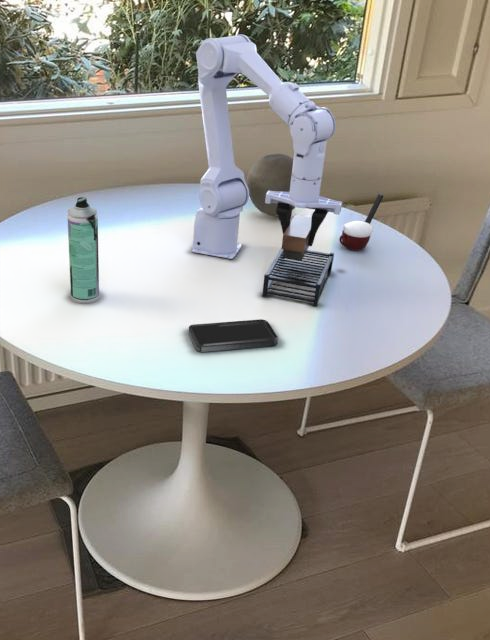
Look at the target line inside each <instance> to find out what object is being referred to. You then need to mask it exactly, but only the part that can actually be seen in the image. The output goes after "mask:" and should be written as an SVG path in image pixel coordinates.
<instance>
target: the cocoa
mask: <svg viewBox="0 0 490 640" xmlns="http://www.w3.org/2000/svg"><path fill="white" fill-rule="evenodd" d="M383 198H384V194H382V193H380V192H379V193H378V194H377V196H376V198H375V200H374V202H373V204H372V206H371V208H370V210H369V213H368V215H367V217H366V218H365V221H363V220H353V221H349V222H346V223H345V224H343V230H342V233H341V234H340V236H339V239H338V241H339V243H340V245H341V246H343V247H345V248H346V249H348V250H351V251H361V250H364V249H365V248H366V247H367V245H368V244H369V242H370V239H371V235H372V234H373V231H374V230H373V226H372V225H371V223H372V221H373V219H374V217H375V215H376V213H377V211H378V209H379V206H380V204H381V203H382V200H383Z"/></svg>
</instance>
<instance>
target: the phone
mask: <svg viewBox="0 0 490 640" xmlns="http://www.w3.org/2000/svg"><path fill="white" fill-rule="evenodd" d="M188 335H189V337H190V340H191V341H192V344H193V347H194V349H195V350H196V351H197V352H201V353H207V352H208V353H209V352H218V351H219V352H220V351H231V350H243V349H254V348H255V349H257V348H267V347H268V348H269V347H275V346H278V342H279V337H278V335H277V333H276V332H275V331H274V329H273V328H272V325H271V324H270V323H269V321H268V320H266V319H264V318H263V319H262V318H260V319H248V320H235V321H233V320H232V321H223V322H222V321H221V322H209V323H208V322H207V323H196V324H195V323H194V324H190V325H188Z"/></svg>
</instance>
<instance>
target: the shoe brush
mask: <svg viewBox="0 0 490 640" xmlns="http://www.w3.org/2000/svg"><path fill="white" fill-rule="evenodd" d="M311 221H312V216H305V215H298V214H295V215H294V216H293V217H292V218H291V221H290V224H289V226H288V228H287V229H286V231H285V232H284V234H283V233H282V240H281V242H282V243H281V247H282V248H281V247H280V249H283V256H282V258H287V260H290V259H293V260H292V261H296V260H298V262H301V261H302V260H304V259H303V257H304V255H305V253H306V251H307V250H309V247H310V246H308V242H309V236H310V232H311Z"/></svg>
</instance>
